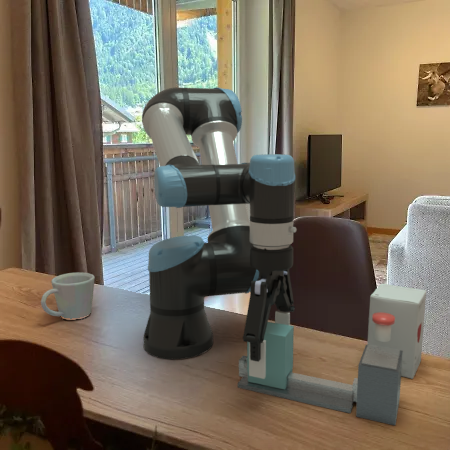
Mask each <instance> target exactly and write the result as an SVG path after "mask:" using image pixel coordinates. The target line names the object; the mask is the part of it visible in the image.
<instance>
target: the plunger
mask: <svg viewBox="0 0 450 450" xmlns="http://www.w3.org/2000/svg"><path fill="white" fill-rule="evenodd" d="M372 321H373V322H374V323H375V339H376V340H378V341H381V342H388V341H390V335H391V325H392V324H394V323H395V317H394V316H393V315H391V314H388V313H382V312H379V313H374V314H373V316H372Z"/></svg>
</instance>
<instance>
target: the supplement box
mask: <svg viewBox="0 0 450 450" xmlns="http://www.w3.org/2000/svg"><path fill="white" fill-rule="evenodd" d="M369 296H370V297H369V314H368V328H367V329H368V331H367V344H366V345H368V344H369V345H375V346H381V347H387V348H393V349H399V350H401V351H403V355H402V370H401V377H403V378H408V379H411V380H412V379H414V377H415V375H416V373H417V371H418V368H419V366H420V364H421V361H422V351H423V338H424V326H425V325H424V324H425V311H426V301H427V299H426V298H427V290H426V289H420V288H414V287H413V288H412V287H405V286H399V285H394V284H389V283H387V284H385V283H381V284H380V285H379V286H378V287H377V288H375V289H374V291H373V292H372V293H371V295H369ZM379 312H382V313H388V314H391V315H393V316H394V317H395V323H394V324H392V325H391V335H390V341H388V342H381V341H378V340H376V339H375V323H374V322H373V321H372V316H373V314H374V313H379Z"/></svg>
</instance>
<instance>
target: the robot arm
mask: <svg viewBox="0 0 450 450" xmlns="http://www.w3.org/2000/svg"><path fill="white" fill-rule="evenodd" d="M242 113H243V111H242V105H241V101H240V99H239V97H238V96H237V93H236V92H234V90H232V89H229V88H222V87H213V88H202V87H201V88H200V87H198V88H197V87H176V86H175V87H170V88H169V87H168V88H166V89H163V90H161V91H159V92H157V93H156V94H155V95H153V96H152V97H151V98H150V99H149V100H148V102H147V103H146V104H145V106H144V107H143V110H142V115H141V123H142V127H143V130H144V132H145V133H146V135H147V136H148V138H150V139H151V141H152V145H153V147H154V152H155V155H156V158H157V161H158V164H159V165H158V167H156V168H155V170H154V177H153V178H154V193H155V200H156V203H157V205H158V206H159V207H162V208H176V209H180V208H185V207H187V208H188V207H201V206H203V207H204V206H205V207H207V206H208V210H209V216H210V222H211V228H212V231H211V232H210V233H209V234H208V236H207V242H205V241H204V239H203V238H202V236H199V235H179V236H178V235H177V236H174V237H170V238H166V239H162V240H160V241H159V242H156V243H155V244H153V245H152V246H151V247H150V249H149V251H148V265H147V271H148V278H149V279H148V281H149V307H150V308H149V310H150V312H149V316H148V319H147V322H146V324H145V325H146V327H145V330H144V333H143V349H144V351H145V352H146V353H148V354H149V355H151V356H153V357H156V358H159V359H167V360H183V359H188V358H189V359H190V358H193V357H194V358H195V357H197V356H200V355H202V354H204V353H206V352H207V351H209V350H210V349H211V348H212V347H213V344H214V338H213V337H214V335H213V329H212V327H211V325H210V321H209V319H208V315H207V313H206V310H205V297H215V296H222V295H223V296H227V295H236V294H249V293H250V295H249V300H248V305H247V312H246V313H247V314H246V320H245V325H244V330H243V331H244V332H243V336H242V339H243V342H246V343H247V342H249V376H253V377H258V378H262V379H264V378H265V377H266V340H264V336H265V331H266V327H267V323H268V322H269V319H270V313H271V310H272V309H271V308H272V306H273V305H275V307H276V309H277V310H275V313H274V314H275V315H274V316H275V317H274V323H278V324H284V325H291V313H290V312H292V313H295V309H296V308H295V307H296V306H295V305H294V303H295V300H294V295H293V287H292V282H291V275H290V269H291V268H292V267H293V266H294V247H293V246H292V245H291V244H292V243H294V233H296V232H297V230H298V229H297V227H296V226H294V219H295V218H294V215H295V213H294V212H295V185H296V184H295V183H296V173H295V172H296V171H295V159H294V157H292V155H290V154H284V153H283V154H279V153H278V154H276V153H273V154H272V153H271V154H270V153H268V154H266V153H265V154H263V153H262V154H254V155H252V156H251V157H250V160H249V162H242V163H238V159H237V155H236V149H235V144H234V141H235V139H236V138H237V136H238V133H240V131H241V129H242V125H243V124H242V123H243V116H242ZM188 136H190V137H191V142H192V144H193V145H195V146H196V147H198V148H199V154H200V161H201V164H200V162H199V160H198V158H197V155H196V153H195V151H194V149H193V147H192V144H191V142H190V140H189V138H188ZM247 204H248V205H249V214H248V209H247Z"/></svg>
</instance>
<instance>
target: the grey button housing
mask: <svg viewBox="0 0 450 450" xmlns="http://www.w3.org/2000/svg"><path fill="white" fill-rule="evenodd" d="M402 355H403V351H401V350H399V349H393V348H387V347H381V346H375V345H369V344H368V345H367V344H365V346H364V348H363V352H362V354H361V357H360V359H359V361H358V365H357V366H358V368H357V369H358V370H357V378H358V385H357V402H356V406H355V407H356V411H355V416H356V417H357V418H360V419H365V420H370V421H373V422H378V423H383V424H387V425H392V426H396V423H397V419H398V418H397V417H398V412H399V407H400V400H401V399H400V398H401V383H402V376H401V370H402ZM356 417H355V418H356Z"/></svg>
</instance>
